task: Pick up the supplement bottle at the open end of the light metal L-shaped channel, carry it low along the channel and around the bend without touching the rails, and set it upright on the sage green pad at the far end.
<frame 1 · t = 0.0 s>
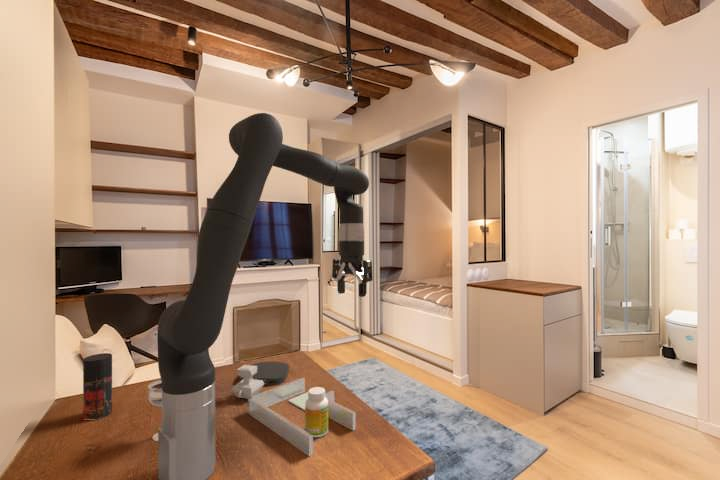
hand: (351, 294, 98), 29 cm above the table, tool pointing down, fingers open, 8 cm apart
supplement bottle: (316, 432, 79), on the table
channel: (285, 412, 88), on the table
wineglass: (164, 435, 78), on the table
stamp: (248, 396, 97), on the table
deodorant: (97, 415, 87), on the table
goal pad: (308, 402, 93), on the table
media streaming box: (265, 378, 112), on the table
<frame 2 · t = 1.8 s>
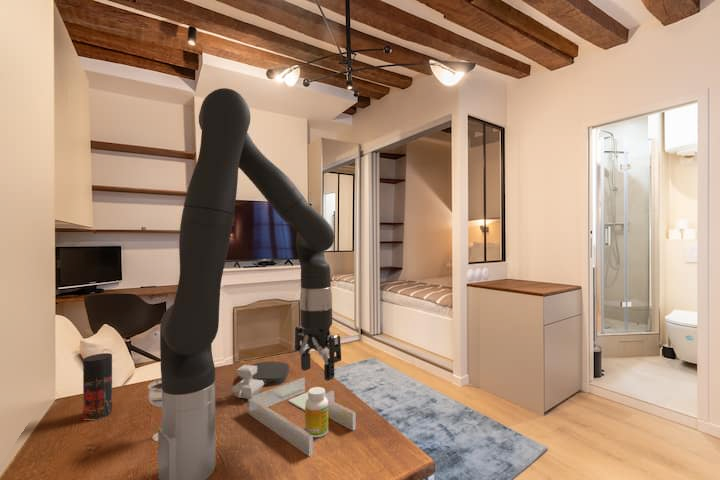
hand: (317, 374, 79), 13 cm above the table, tool pointing down, fingers open, 8 cm apart
nothing on the table moved.
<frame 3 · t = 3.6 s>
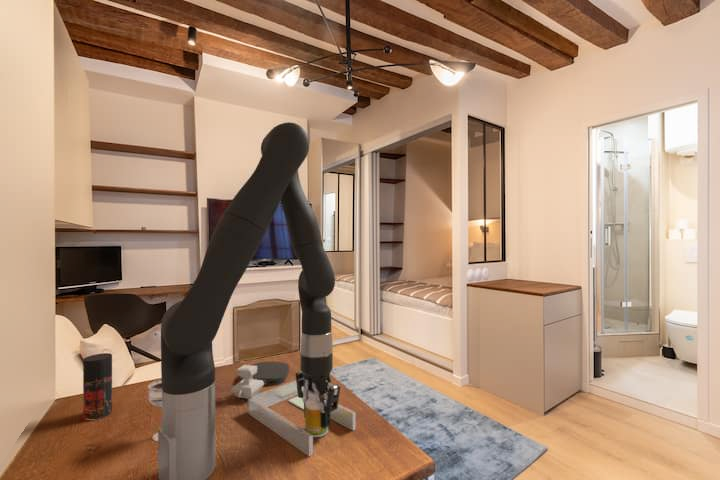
hand: (316, 421, 79), 2 cm above the table, tool pointing down, fingers closed on supplement bottle, 5 cm apart
supplement bottle: (316, 432, 79), on the table, touching gripper
everything else where it was.
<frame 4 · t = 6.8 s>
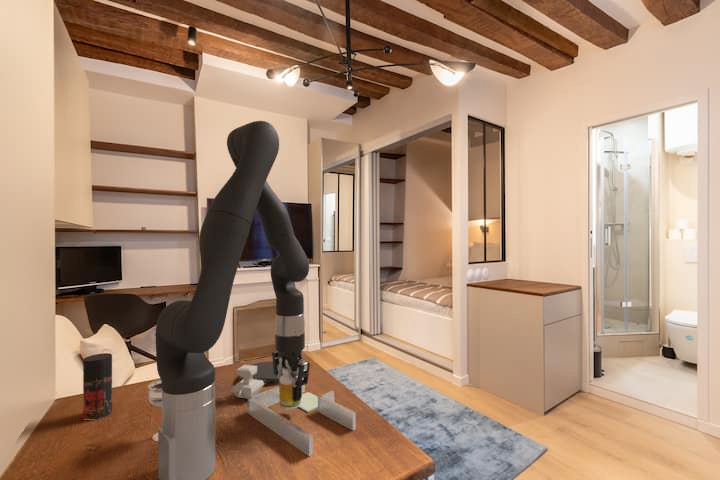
hand: (290, 396, 86), 5 cm above the table, tool pointing down, fingers closed on supplement bottle, 5 cm apart
supplement bottle: (290, 405, 86), point 2 cm above the table, touching gripper
everything else where it was.
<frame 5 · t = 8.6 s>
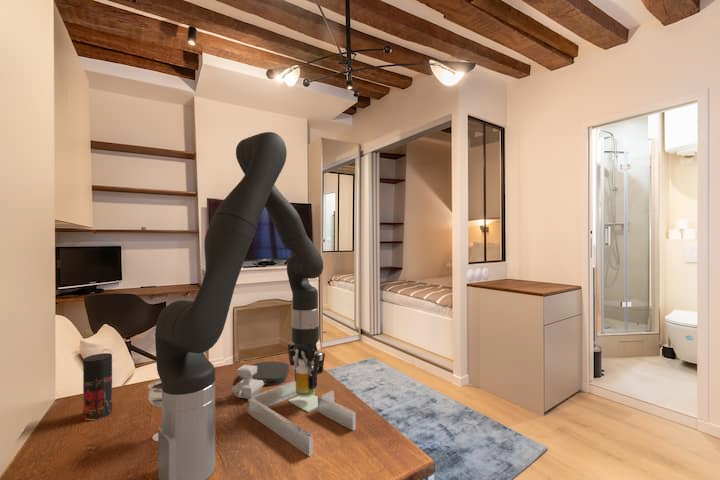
hand: (305, 384, 93), 5 cm above the table, tool pointing down, fingers closed on supplement bottle, 5 cm apart
supplement bottle: (305, 393, 93), point 3 cm above the table, touching gripper
everything else where it was.
when the fingers open (4 cm above the table, at t = 10.2 s): supplement bottle stays where it is, resting on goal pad.
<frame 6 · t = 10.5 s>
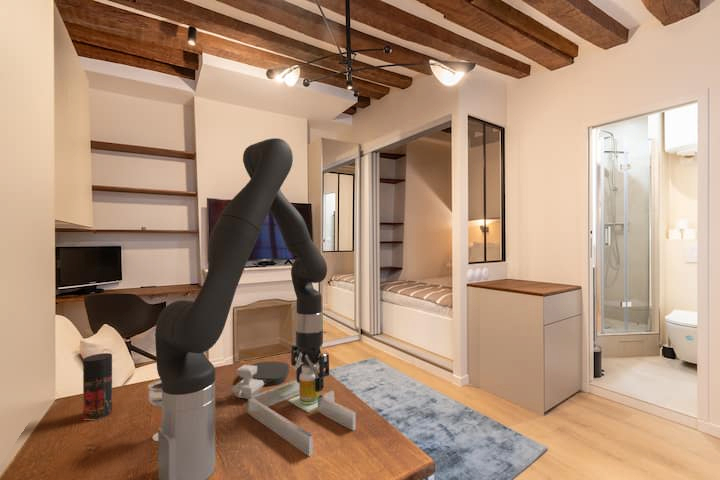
hand: (309, 386, 94), 4 cm above the table, tool pointing down, fingers open, 8 cm apart
supplement bottle: (309, 401, 94), resting on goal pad
everything else where it was.
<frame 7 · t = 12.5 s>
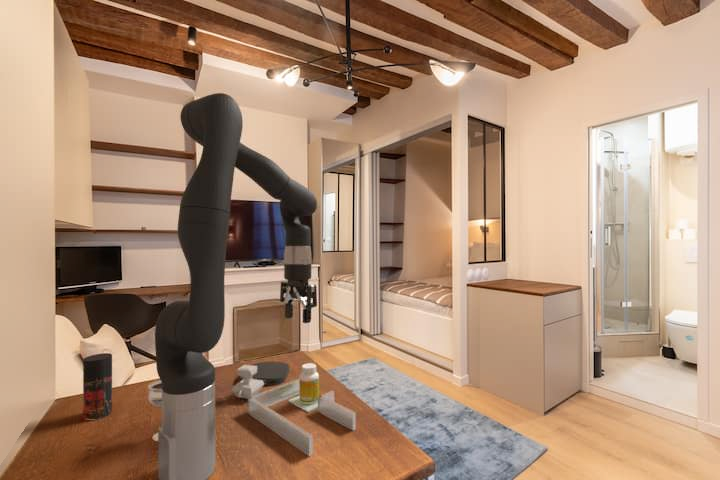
hand: (297, 320, 93), 23 cm above the table, tool pointing down, fingers open, 8 cm apart
nothing on the table moved.
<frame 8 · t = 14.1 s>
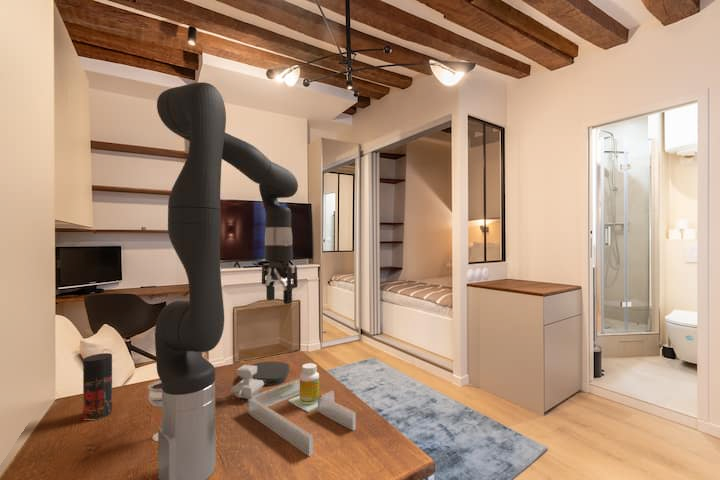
hand: (278, 301, 94), 28 cm above the table, tool pointing down, fingers open, 8 cm apart
nothing on the table moved.
at the end: supplement bottle 0.2 cm off-centre on the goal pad, point 0.2 cm above the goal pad's base; supplement bottle tilted 0°; supplement bottle touching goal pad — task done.
